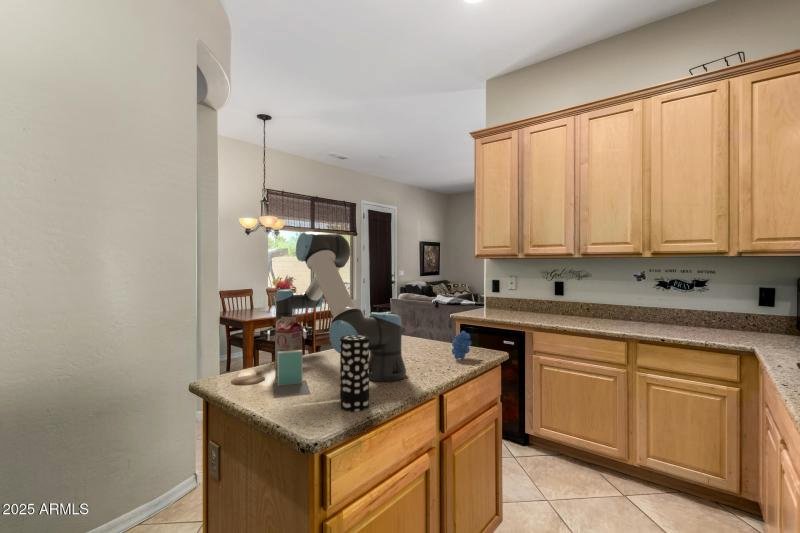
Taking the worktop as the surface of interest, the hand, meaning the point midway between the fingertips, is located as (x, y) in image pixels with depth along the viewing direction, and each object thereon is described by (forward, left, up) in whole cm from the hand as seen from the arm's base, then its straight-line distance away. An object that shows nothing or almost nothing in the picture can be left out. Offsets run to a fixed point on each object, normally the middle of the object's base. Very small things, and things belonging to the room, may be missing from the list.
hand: (287, 336), depth 148 cm
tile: (-9, +17, -13) cm, 23 cm away
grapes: (-66, -30, -14) cm, 74 cm away
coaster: (+7, +16, -13) cm, 22 cm away
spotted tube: (-36, +32, -14) cm, 50 cm away
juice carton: (-5, +9, -14) cm, 17 cm away
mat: (-11, +21, -13) cm, 28 cm away
